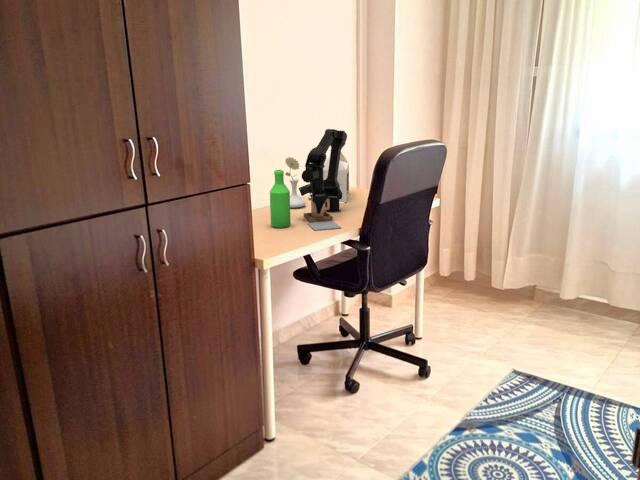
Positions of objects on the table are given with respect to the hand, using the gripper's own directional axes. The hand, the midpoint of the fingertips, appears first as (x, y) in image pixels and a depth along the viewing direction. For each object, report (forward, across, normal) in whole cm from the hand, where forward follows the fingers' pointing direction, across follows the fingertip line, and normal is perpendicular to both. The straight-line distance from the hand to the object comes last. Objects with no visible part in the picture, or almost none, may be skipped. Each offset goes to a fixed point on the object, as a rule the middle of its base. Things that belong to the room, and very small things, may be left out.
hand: (317, 212), depth 262 cm
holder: (+3, 0, 0) cm, 3 cm away
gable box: (+4, -42, +14) cm, 44 cm away
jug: (+3, 0, 0) cm, 3 cm away
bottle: (+3, +10, -18) cm, 21 cm away
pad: (+3, +14, +1) cm, 14 cm away
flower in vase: (+4, -27, -9) cm, 29 cm away
